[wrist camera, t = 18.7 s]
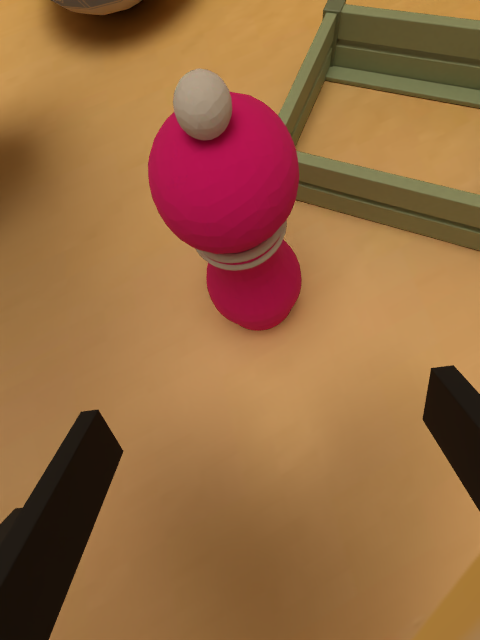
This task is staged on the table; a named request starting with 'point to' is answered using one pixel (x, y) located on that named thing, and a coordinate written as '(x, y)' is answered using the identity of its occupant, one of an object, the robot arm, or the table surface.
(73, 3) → the ramen bowl
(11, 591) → the robot arm
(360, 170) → the crate
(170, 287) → the table surface
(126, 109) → the table surface
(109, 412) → the table surface
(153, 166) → the pepper mill
